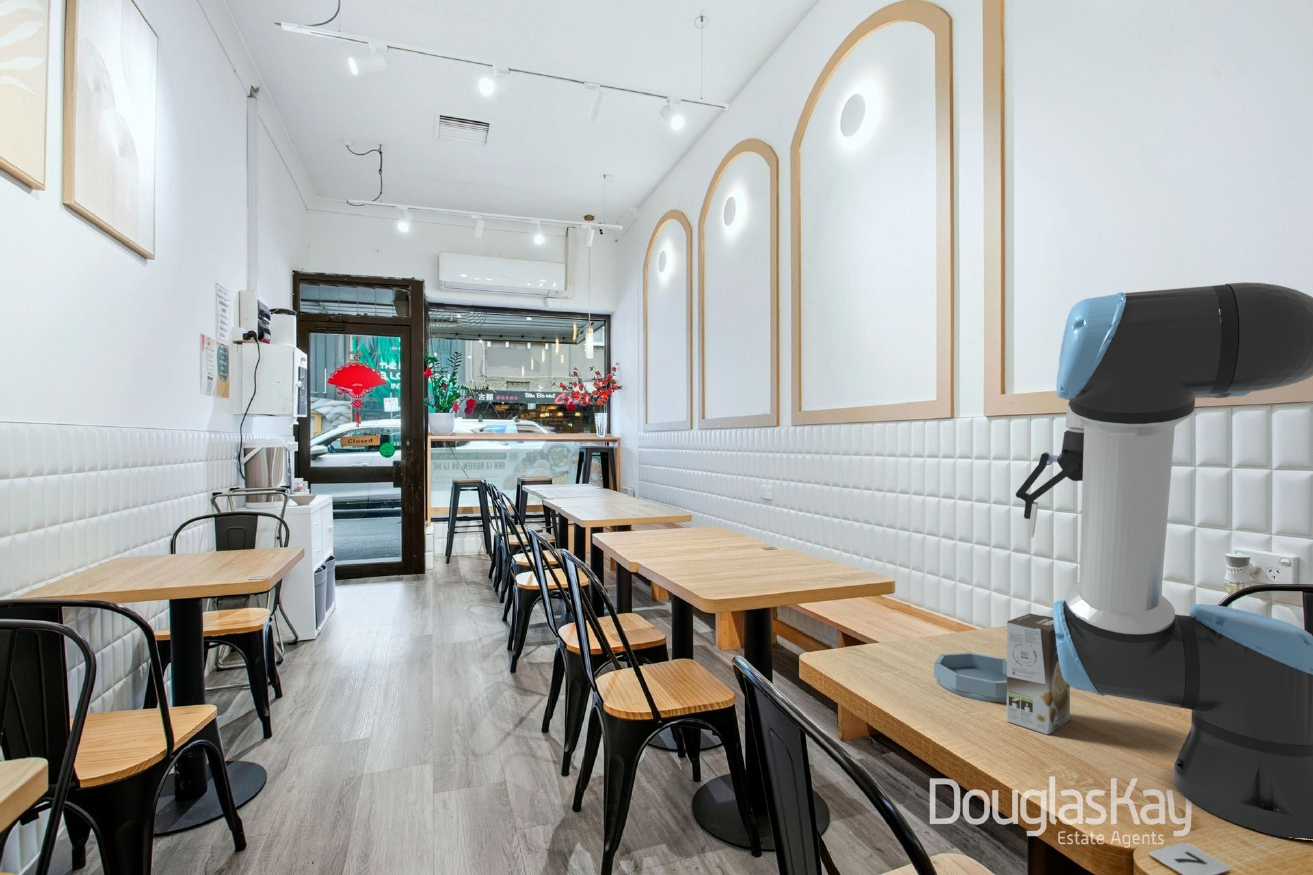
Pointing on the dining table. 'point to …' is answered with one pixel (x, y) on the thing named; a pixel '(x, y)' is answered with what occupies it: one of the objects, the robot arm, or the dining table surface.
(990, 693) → the slate bowl
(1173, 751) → the dining table surface
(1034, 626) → the coffee box
